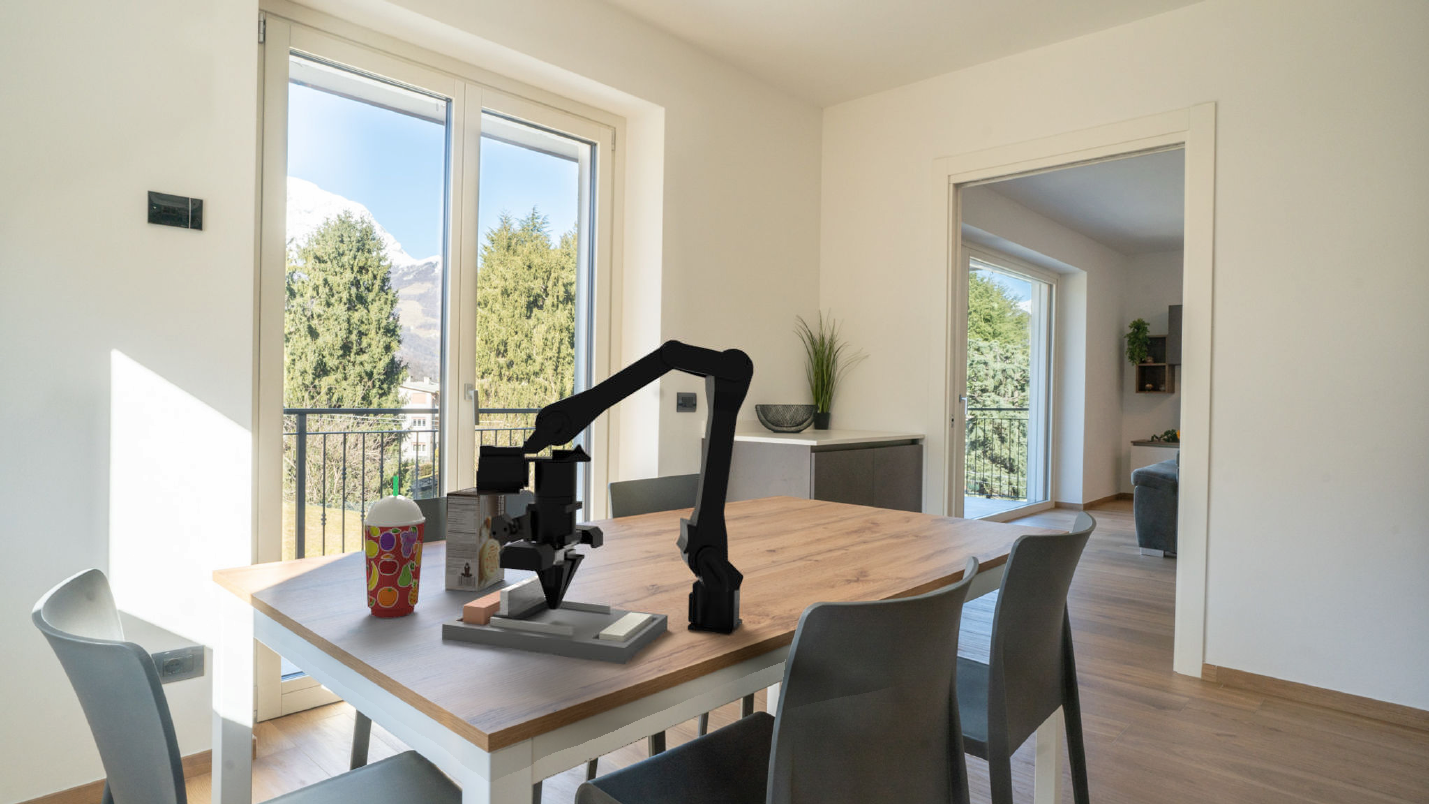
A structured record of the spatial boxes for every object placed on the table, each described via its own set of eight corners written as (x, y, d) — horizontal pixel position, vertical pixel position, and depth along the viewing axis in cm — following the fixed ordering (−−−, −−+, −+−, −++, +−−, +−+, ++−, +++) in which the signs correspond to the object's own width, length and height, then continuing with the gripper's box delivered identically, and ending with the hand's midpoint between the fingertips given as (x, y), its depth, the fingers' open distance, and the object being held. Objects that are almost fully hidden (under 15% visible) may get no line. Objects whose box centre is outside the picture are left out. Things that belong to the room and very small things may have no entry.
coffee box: (471, 576, 134) (474, 486, 134) (505, 579, 133) (507, 487, 133) (443, 589, 125) (445, 492, 125) (478, 592, 124) (481, 494, 124)
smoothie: (399, 602, 117) (402, 472, 117) (435, 611, 112) (438, 476, 112) (348, 614, 110) (352, 476, 109) (385, 624, 105) (388, 480, 105)
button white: (651, 632, 105) (651, 614, 105) (622, 655, 95) (622, 635, 95) (630, 630, 106) (630, 612, 106) (598, 652, 96) (599, 632, 96)
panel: (667, 629, 107) (667, 607, 107) (624, 664, 92) (625, 639, 92) (504, 609, 114) (505, 589, 114) (442, 639, 100) (442, 616, 100)
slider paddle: (550, 604, 109) (551, 575, 109) (512, 624, 100) (513, 592, 100) (531, 602, 110) (532, 573, 110) (492, 621, 100) (493, 589, 100)
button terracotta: (523, 607, 110) (523, 590, 110) (483, 626, 101) (484, 607, 101) (504, 604, 111) (504, 587, 111) (462, 623, 102) (463, 605, 102)
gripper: (538, 484, 115) (536, 587, 115) (463, 500, 97) (461, 621, 97) (605, 488, 112) (603, 594, 112) (540, 505, 94) (538, 631, 94)
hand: (553, 609), depth 104 cm, fingers closed
